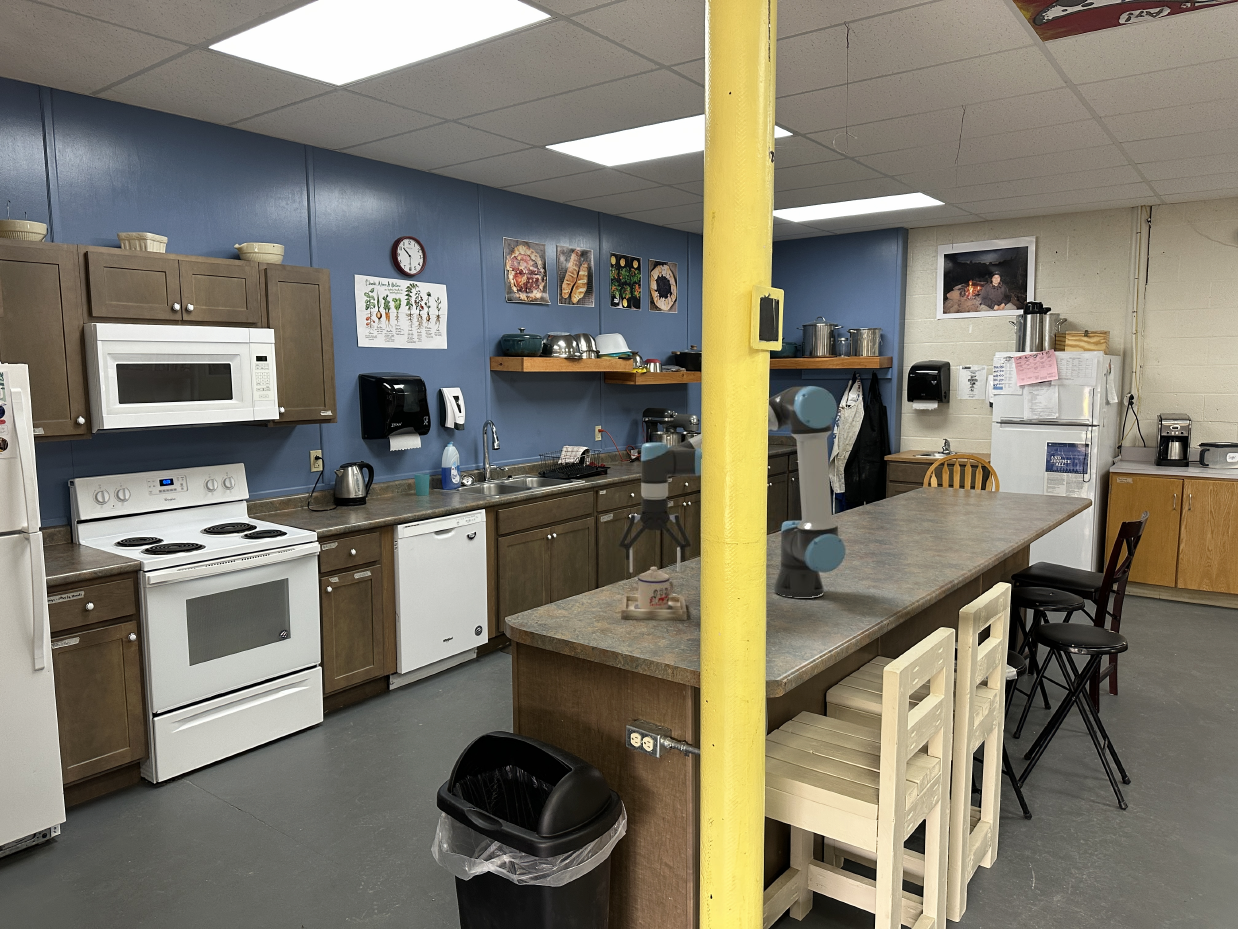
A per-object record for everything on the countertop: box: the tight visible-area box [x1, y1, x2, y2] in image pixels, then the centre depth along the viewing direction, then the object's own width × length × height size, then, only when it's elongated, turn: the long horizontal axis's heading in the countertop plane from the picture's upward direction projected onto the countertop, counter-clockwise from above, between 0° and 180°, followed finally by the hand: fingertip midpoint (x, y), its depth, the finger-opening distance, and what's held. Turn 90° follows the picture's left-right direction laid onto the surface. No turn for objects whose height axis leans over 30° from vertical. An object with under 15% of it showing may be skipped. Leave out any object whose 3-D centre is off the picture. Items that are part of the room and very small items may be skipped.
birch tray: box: [620, 594, 688, 621], centre depth 236 cm, size 18×17×2 cm
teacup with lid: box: [637, 566, 675, 610], centre depth 235 cm, size 12×9×12 cm
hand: (655, 571), depth 235 cm, fingers open, 13 cm apart
